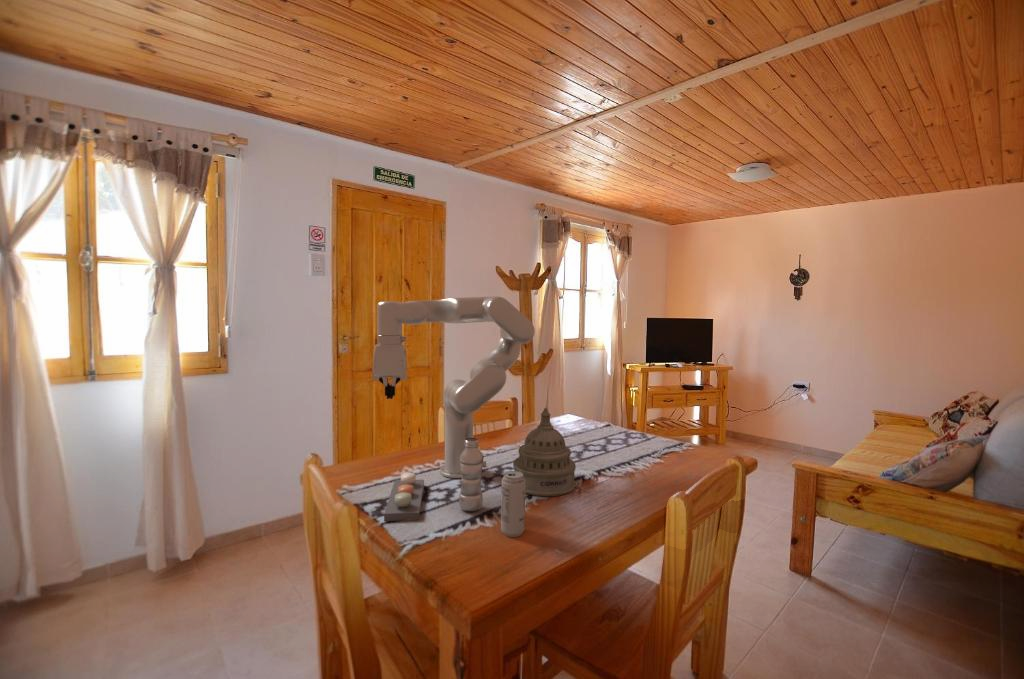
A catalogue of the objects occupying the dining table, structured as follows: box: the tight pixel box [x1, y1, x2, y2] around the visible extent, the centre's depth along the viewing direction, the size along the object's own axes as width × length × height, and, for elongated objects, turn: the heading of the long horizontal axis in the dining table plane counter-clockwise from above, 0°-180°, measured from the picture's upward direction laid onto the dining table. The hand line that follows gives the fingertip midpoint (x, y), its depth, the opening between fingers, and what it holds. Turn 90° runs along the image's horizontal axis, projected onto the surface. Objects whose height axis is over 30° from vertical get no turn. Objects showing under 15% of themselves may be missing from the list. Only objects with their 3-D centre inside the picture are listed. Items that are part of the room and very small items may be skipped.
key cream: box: [400, 472, 417, 485], centre depth 141 cm, size 4×4×2 cm
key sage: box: [395, 493, 411, 506], centre depth 126 cm, size 4×4×2 cm
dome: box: [512, 407, 577, 497], centre depth 148 cm, size 20×25×20 cm
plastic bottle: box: [458, 437, 484, 512], centre depth 129 cm, size 6×7×20 cm
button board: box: [383, 479, 425, 522], centre depth 134 cm, size 9×23×2 cm, turn 7°
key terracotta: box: [398, 485, 414, 496], centre depth 134 cm, size 4×4×2 cm
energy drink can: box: [500, 470, 526, 538], centre depth 117 cm, size 6×6×15 cm
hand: (390, 397), depth 147 cm, fingers closed
